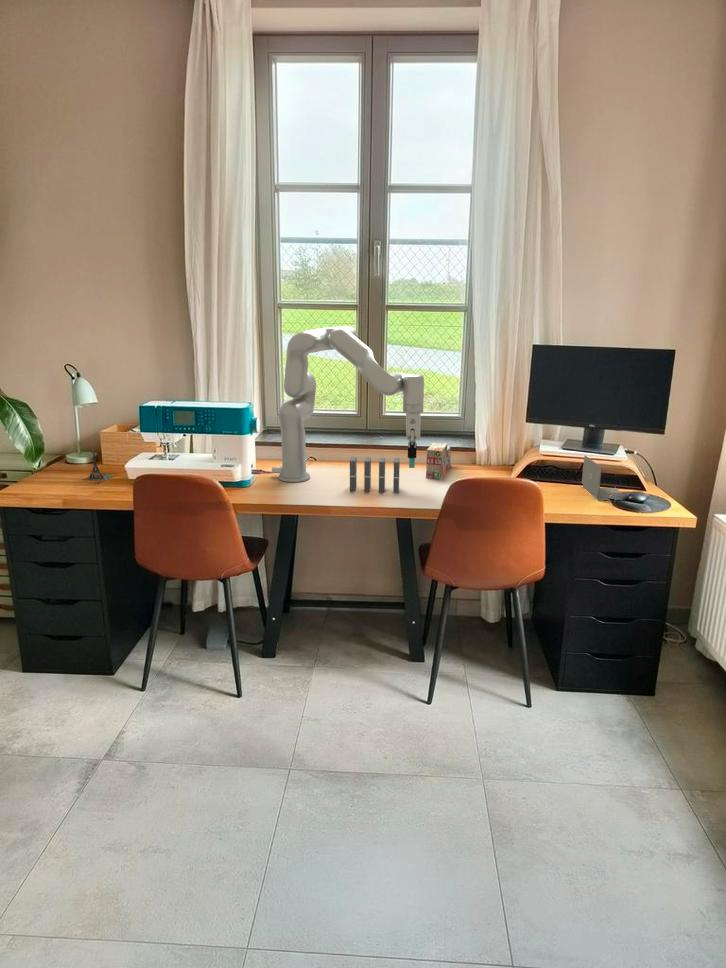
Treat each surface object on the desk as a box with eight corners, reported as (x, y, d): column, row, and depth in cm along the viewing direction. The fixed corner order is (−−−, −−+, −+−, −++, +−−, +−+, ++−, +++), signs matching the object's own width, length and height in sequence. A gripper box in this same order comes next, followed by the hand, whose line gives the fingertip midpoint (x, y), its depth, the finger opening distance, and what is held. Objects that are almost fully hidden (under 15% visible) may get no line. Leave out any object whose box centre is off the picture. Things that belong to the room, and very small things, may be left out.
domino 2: (364, 491, 251) (364, 461, 247) (365, 487, 257) (365, 457, 253) (369, 492, 251) (369, 461, 247) (370, 487, 257) (370, 457, 253)
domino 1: (349, 491, 251) (349, 460, 248) (351, 486, 257) (351, 456, 254) (355, 491, 251) (355, 461, 248) (356, 486, 257) (356, 456, 253)
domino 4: (393, 492, 250) (393, 462, 247) (393, 488, 256) (394, 458, 252) (398, 492, 250) (399, 462, 246) (399, 488, 256) (399, 458, 252)
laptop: (630, 501, 243) (635, 467, 239) (596, 501, 243) (600, 467, 239) (612, 487, 260) (616, 454, 256) (580, 487, 260) (584, 454, 256)
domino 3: (378, 492, 251) (378, 461, 247) (379, 487, 256) (379, 457, 253) (384, 492, 250) (384, 461, 247) (384, 487, 256) (385, 457, 253)
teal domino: (414, 463, 252) (415, 432, 249) (414, 467, 246) (415, 436, 243) (409, 463, 252) (409, 432, 249) (409, 467, 247) (409, 436, 243)
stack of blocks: (436, 465, 288) (437, 437, 285) (450, 466, 287) (451, 438, 283) (425, 478, 269) (426, 449, 265) (440, 479, 267) (442, 450, 263)
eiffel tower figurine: (98, 485, 258) (94, 452, 254) (74, 484, 260) (70, 451, 256) (119, 475, 272) (115, 443, 268) (97, 473, 274) (93, 442, 270)
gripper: (423, 412, 234) (422, 461, 240) (423, 404, 251) (422, 450, 256) (402, 412, 235) (401, 461, 240) (403, 403, 252) (402, 449, 257)
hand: (412, 455), depth 248 cm, fingers closed on teal domino, 6 cm apart
